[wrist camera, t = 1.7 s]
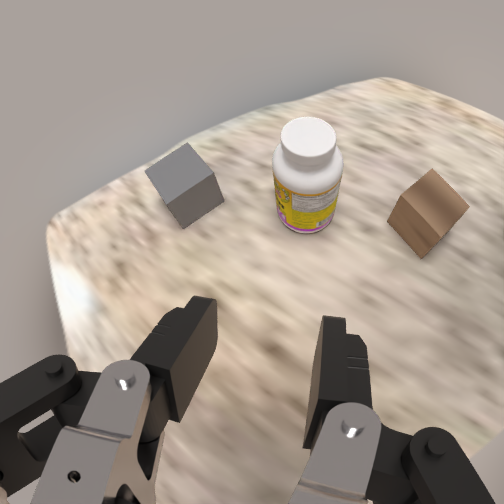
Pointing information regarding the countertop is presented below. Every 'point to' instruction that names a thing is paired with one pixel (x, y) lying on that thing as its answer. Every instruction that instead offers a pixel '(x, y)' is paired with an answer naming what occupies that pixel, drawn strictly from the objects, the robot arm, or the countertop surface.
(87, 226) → the countertop surface
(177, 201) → the charcoal block
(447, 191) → the walnut block
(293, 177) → the supplement bottle
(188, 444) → the countertop surface
